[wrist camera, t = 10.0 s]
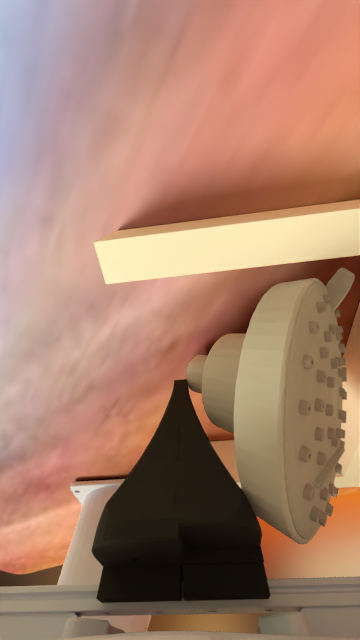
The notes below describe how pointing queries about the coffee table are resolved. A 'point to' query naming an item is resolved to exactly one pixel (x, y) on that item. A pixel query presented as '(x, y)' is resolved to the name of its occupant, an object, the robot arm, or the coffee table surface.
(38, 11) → the coffee table surface
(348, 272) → the showerhead
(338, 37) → the coffee table surface
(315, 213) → the dock
